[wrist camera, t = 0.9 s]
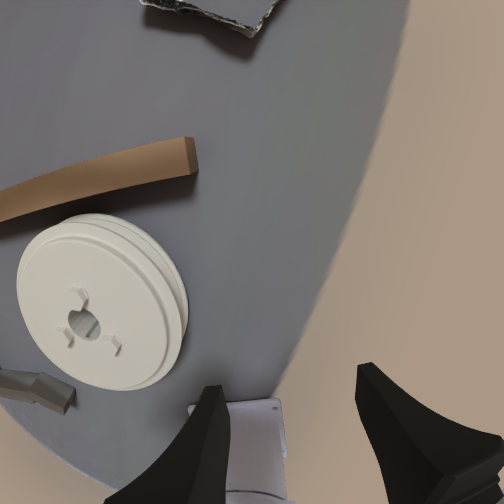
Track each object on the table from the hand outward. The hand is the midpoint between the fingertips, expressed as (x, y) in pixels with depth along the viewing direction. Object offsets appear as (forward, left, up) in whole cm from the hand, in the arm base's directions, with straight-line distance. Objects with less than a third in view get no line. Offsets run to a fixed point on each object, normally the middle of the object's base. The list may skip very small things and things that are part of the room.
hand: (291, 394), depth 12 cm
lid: (+1, +12, -10) cm, 16 cm away
